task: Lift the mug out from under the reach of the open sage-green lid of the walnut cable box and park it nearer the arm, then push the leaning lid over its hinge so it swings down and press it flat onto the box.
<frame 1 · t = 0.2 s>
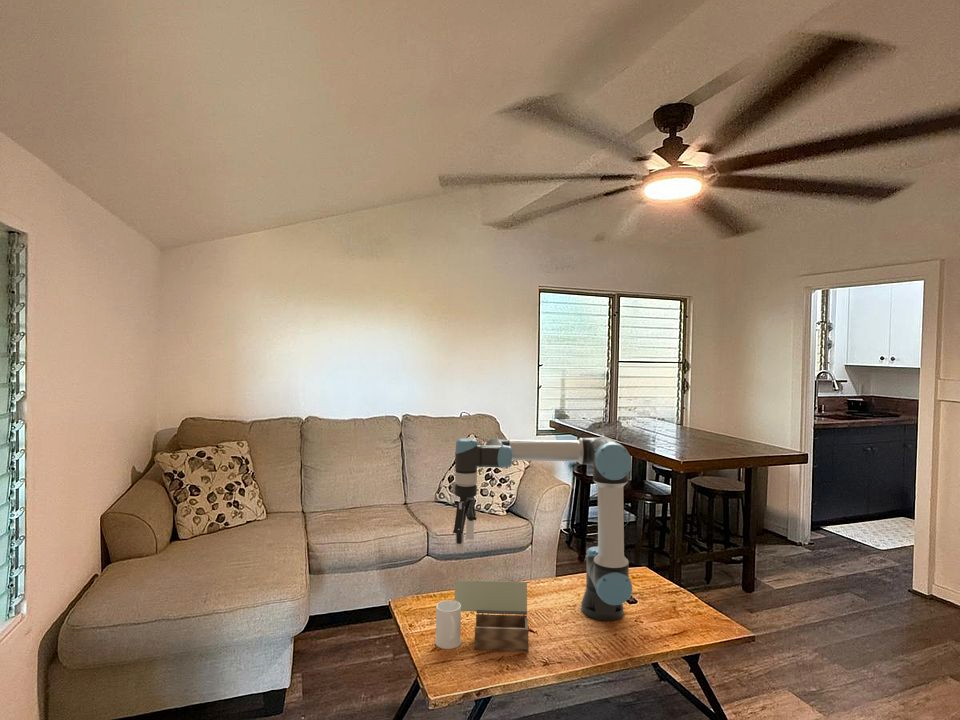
hand: (464, 545, 182), 28 cm above the table, fingers open, 13 cm apart
cable box: (501, 643, 172), on the table
lid: (490, 597, 180), point 12 cm above the table, hinge at 110.0°
mug: (448, 645, 171), on the table
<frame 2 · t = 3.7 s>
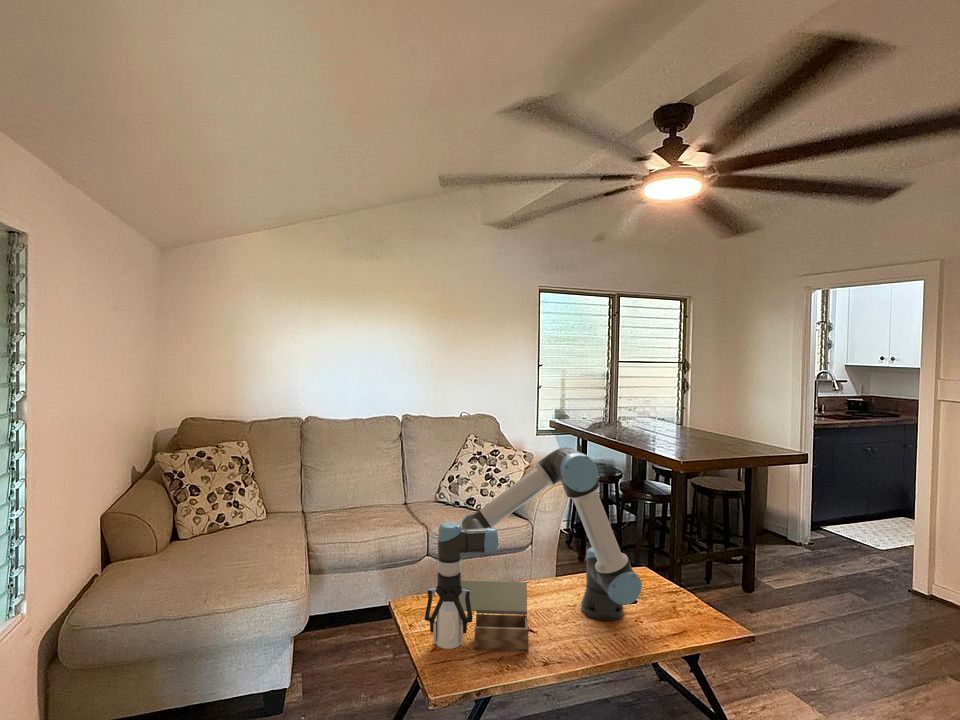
hand: (448, 642, 171), 1 cm above the table, fingers closed on mug, 8 cm apart
mug: (449, 645, 171), on the table, touching gripper
everything else where it was.
when the fingers open (3 cm above the table, at t = 9.1 s): mug drops 2 cm, on the table.
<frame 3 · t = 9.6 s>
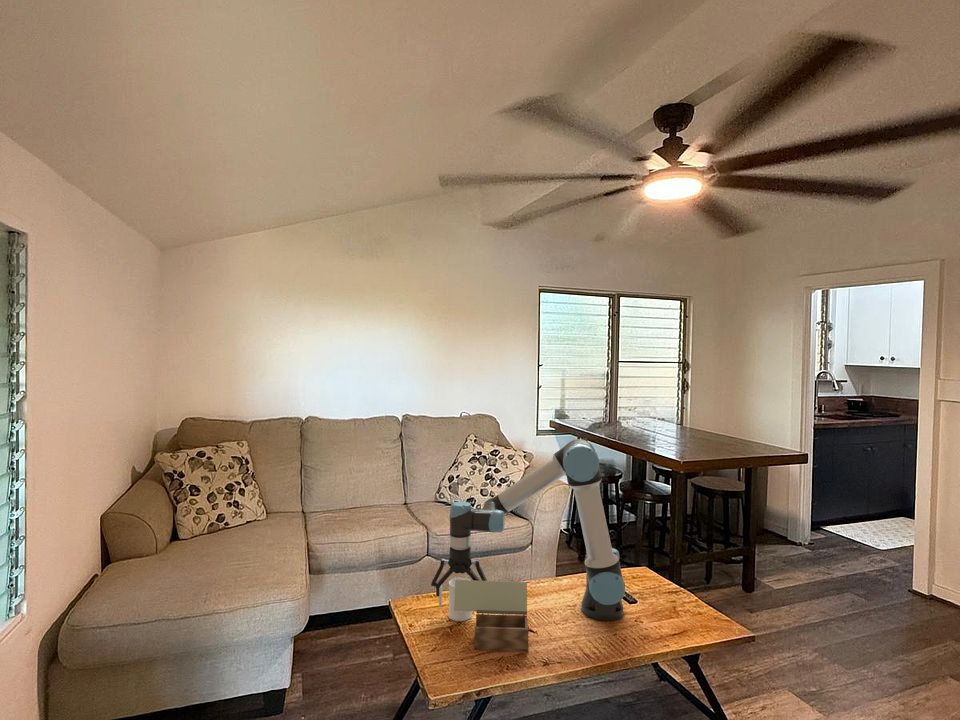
hand: (459, 605, 189), 4 cm above the table, fingers open, 13 cm apart
mug: (460, 618, 189), on the table
everything else where it was.
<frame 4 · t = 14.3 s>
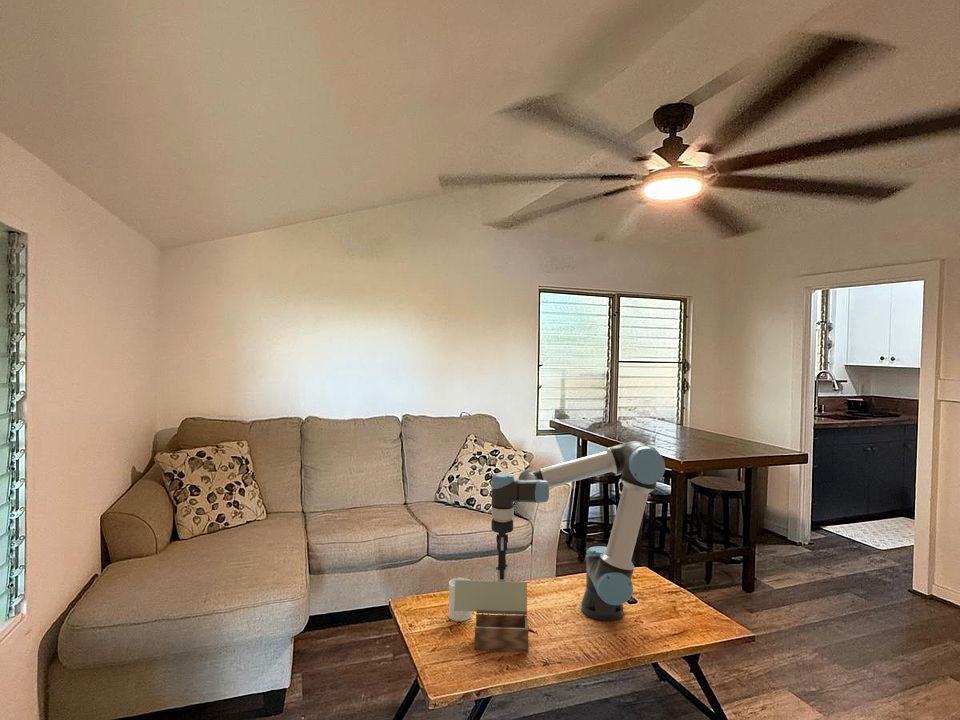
hand: (501, 587, 182), 14 cm above the table, fingers closed
lid: (490, 597, 180), point 12 cm above the table, hinge at 109.5°, touching gripper
everything else where it was.
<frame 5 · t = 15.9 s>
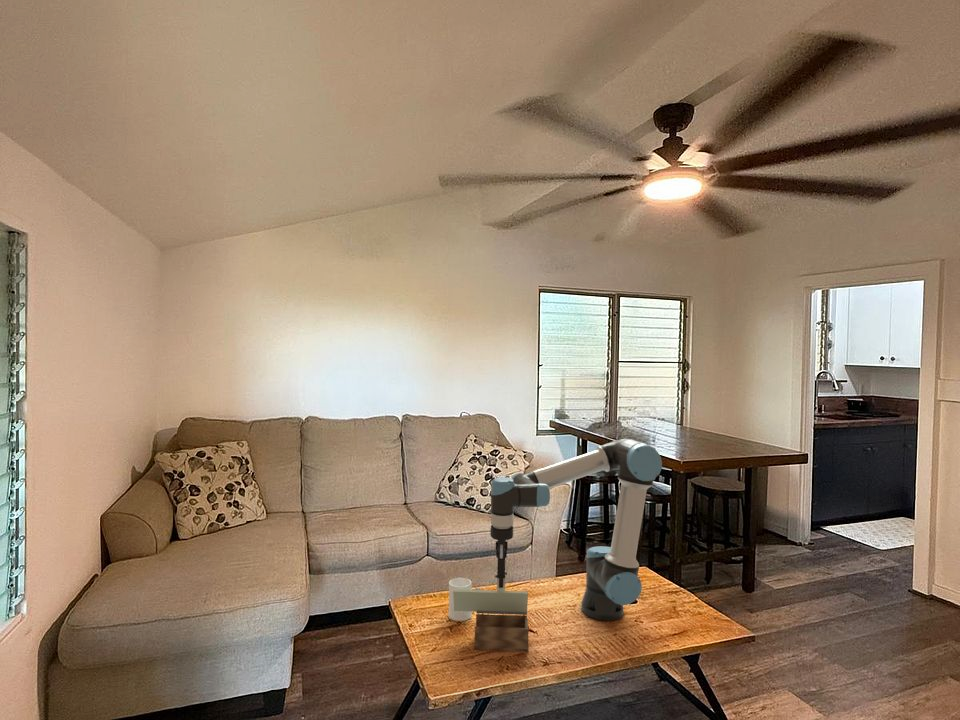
hand: (500, 595, 176), 14 cm above the table, fingers closed
lid: (490, 600, 176), point 12 cm above the table, hinge at 62.7°, touching gripper
everything else where it was.
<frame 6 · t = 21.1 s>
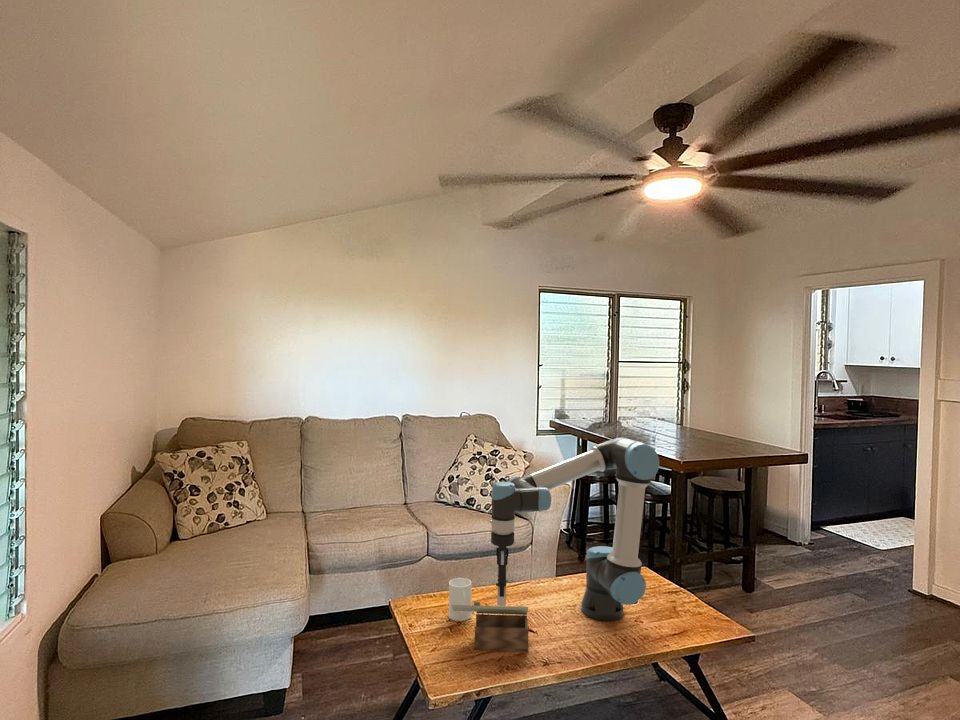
hand: (501, 604, 171), 13 cm above the table, fingers closed
lid: (490, 608, 174), point 11 cm above the table, hinge at 31.6°, touching gripper
everything else where it was.
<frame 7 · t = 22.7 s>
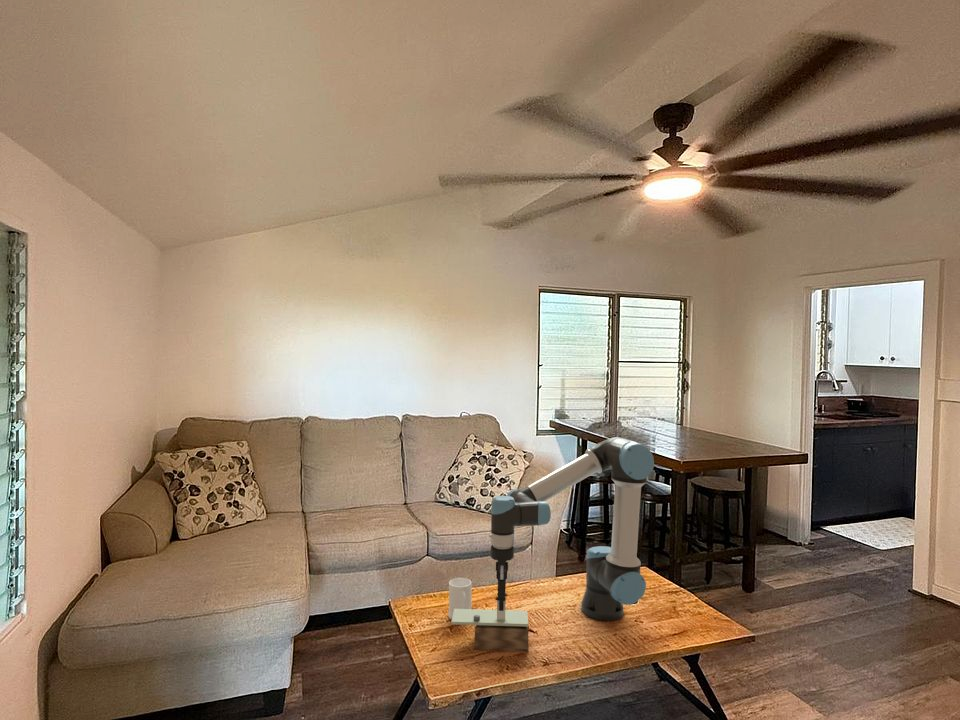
hand: (501, 618, 171), 9 cm above the table, fingers closed, pressing on lid
lid: (490, 615, 173), point 8 cm above the table, hinge at 2.2°, touching gripper
everything else where it was.
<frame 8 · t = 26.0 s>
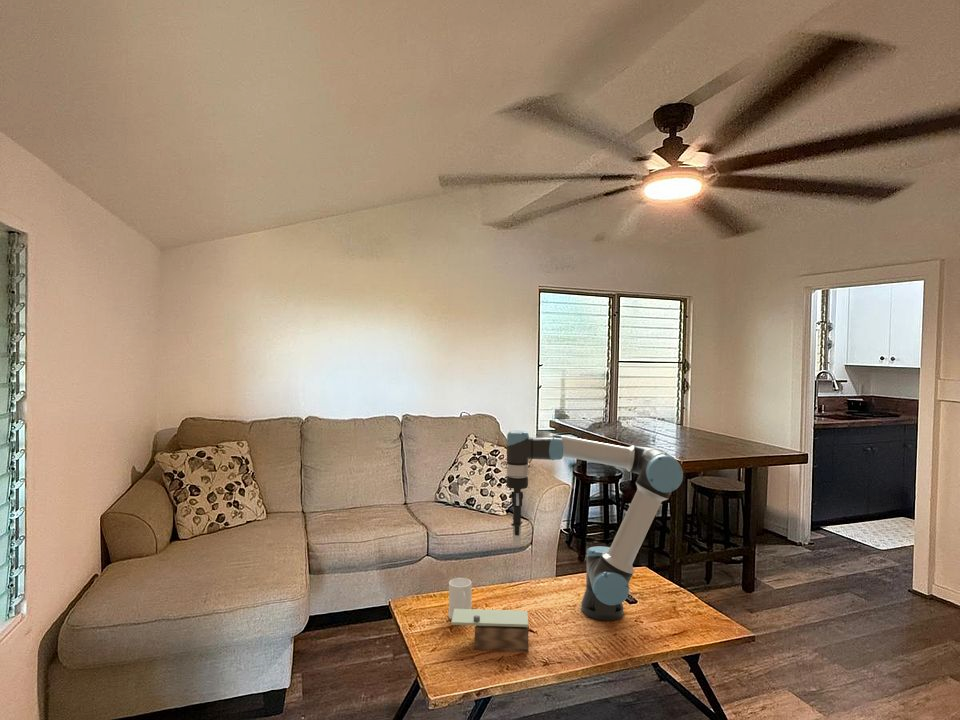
hand: (516, 543, 184), 28 cm above the table, fingers closed
lid: (490, 616, 173), point 8 cm above the table, hinge at 1.4°
everything else where it was.
at the end: lid at +1° (first picture: +110°); mug inside the target area (0.4 cm from its centre), on the table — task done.
